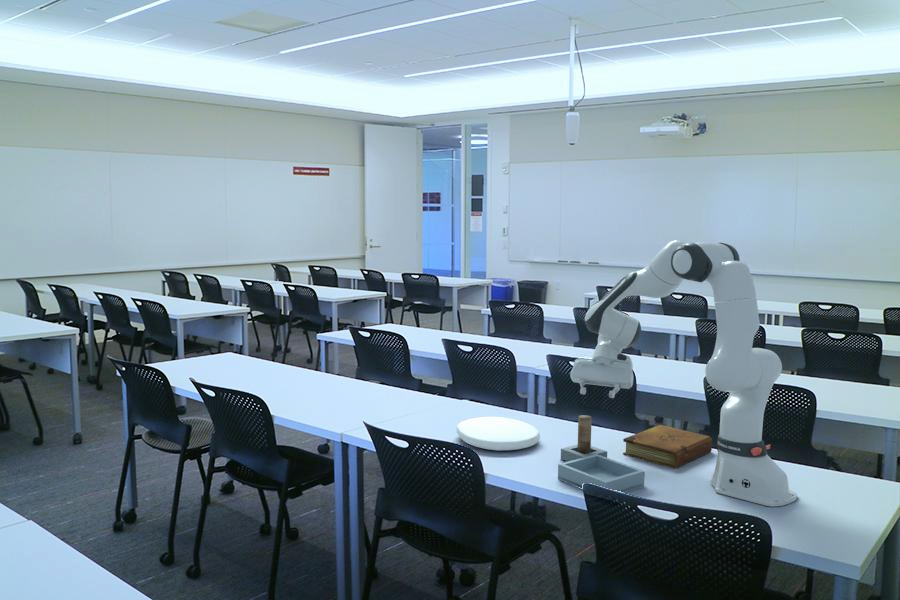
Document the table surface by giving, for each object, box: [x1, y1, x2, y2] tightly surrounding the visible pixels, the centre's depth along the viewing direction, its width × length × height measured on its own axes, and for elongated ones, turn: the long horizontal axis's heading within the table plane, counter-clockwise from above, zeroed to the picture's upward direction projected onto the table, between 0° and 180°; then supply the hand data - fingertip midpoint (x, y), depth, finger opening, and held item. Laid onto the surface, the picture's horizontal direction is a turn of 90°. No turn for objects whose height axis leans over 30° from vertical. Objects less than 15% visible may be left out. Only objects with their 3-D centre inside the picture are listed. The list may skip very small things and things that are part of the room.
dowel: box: [577, 414, 593, 454], centre depth 226 cm, size 4×4×14 cm
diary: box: [622, 424, 713, 469], centre depth 235 cm, size 23×19×6 cm
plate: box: [456, 416, 541, 452], centre depth 246 cm, size 28×6×27 cm
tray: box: [557, 454, 646, 494], centre depth 208 cm, size 18×16×4 cm
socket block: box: [560, 444, 608, 462], centre depth 227 cm, size 10×10×4 cm
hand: (596, 395), depth 236 cm, fingers open, 8 cm apart
